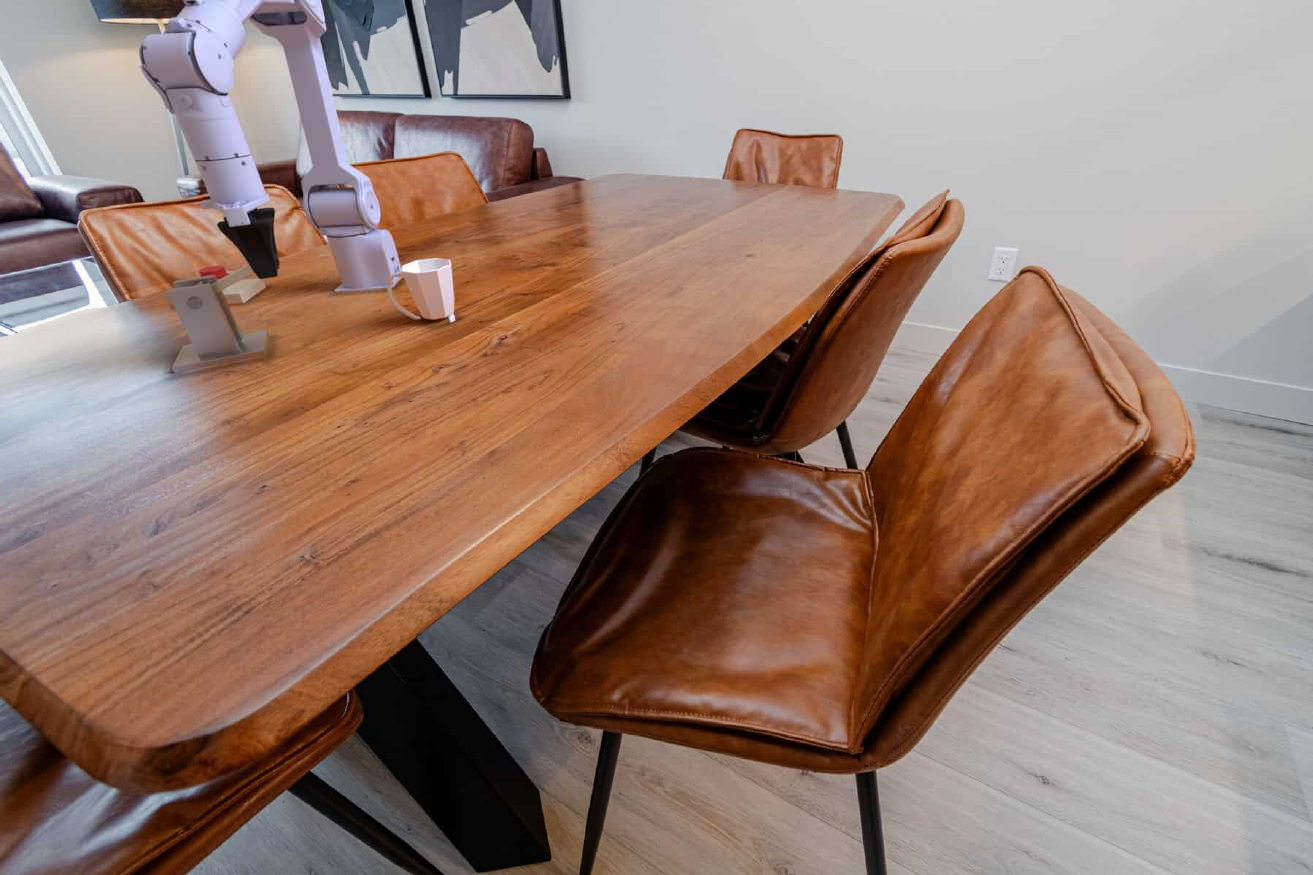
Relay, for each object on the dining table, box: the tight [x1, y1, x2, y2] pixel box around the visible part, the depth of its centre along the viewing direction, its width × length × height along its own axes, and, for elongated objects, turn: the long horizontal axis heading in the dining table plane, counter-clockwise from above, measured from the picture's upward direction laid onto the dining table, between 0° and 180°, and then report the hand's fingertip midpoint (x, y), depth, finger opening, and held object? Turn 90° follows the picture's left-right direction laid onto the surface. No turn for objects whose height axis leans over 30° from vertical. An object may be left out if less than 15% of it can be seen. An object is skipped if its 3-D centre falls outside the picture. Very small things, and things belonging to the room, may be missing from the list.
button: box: [198, 265, 228, 280], centre depth 98 cm, size 4×4×2 cm
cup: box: [386, 257, 456, 323], centre depth 84 cm, size 7×10×8 cm
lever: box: [194, 253, 281, 294], centre depth 75 cm, size 12×3×3 cm, turn 116°
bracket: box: [166, 275, 270, 374], centre depth 76 cm, size 10×8×10 cm
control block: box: [198, 270, 266, 305], centre depth 99 cm, size 10×8×4 cm
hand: (269, 273), depth 77 cm, fingers closed on lever, 3 cm apart
